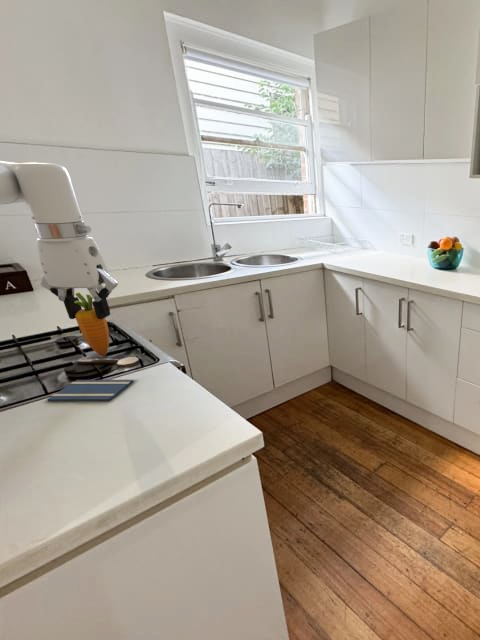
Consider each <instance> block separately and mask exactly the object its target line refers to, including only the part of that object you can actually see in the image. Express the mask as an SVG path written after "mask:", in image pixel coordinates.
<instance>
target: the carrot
mask: <svg viewBox="0 0 480 640" xmlns="http://www.w3.org/2000/svg"><path fill="white" fill-rule="evenodd" d="M75 297H78V299H79V301H75V303H76V304H79V305H80V306H81V308H82V310H80V311H78V312H77V314H76V315H75V320H76V323H77V325H78V328H79V331H80V333H81V335H82V336H83V339H84V341H86V343H87V344H88V346H89V347H90V348H91V349H92V350H93V351H94V352H95V354H97V355H99V356H100V357H103V358H105V356H107V354H108V351H109V347H110V330H109V325H108V322H107V317H105V318H103V319H98V318H97V316H96V313H95V310H94V307H93V304H92V303H93V299H94V298H93V297H92V295H91V294H85V297H84V295H82V294H81V292H76V293H75Z"/></svg>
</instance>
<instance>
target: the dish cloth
mask: <svg viewBox="0 0 480 640" xmlns="http://www.w3.org/2000/svg"><path fill="white" fill-rule="evenodd" d="M133 383H134V380H133V379H75V381H72V382H71V383H69V384H68V385H67V386H65V387H64V388H62V389H61V390H59V391H57V392H56V393H53V394H52V395H51V396H50V397H48V398H47V399H46V400H47V402H110V401H112V400H113V399H114V398H115V397H117V396H118V395H119V394H120V393H121V392H123V391H124V390H126V388H128V387H129V386H130V385H131V384H133Z"/></svg>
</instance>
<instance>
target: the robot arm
mask: <svg viewBox="0 0 480 640" xmlns="http://www.w3.org/2000/svg"><path fill="white" fill-rule="evenodd" d="M71 179H72V178H71V176H70V173H69V172H68V169H66V168H65V166H63V165H61V164H58V163H47V162H20V163H18V162H10V161H3V160H0V205H9V204H10V205H11V204H18V203H25V204H26V207H27V209H28V212H29V216H30V219H31V221H32V224H33V227H34V230H35V233H36V235H37V239H36V246H37V247H36V248H37V254H38V259H39V263H40V267H41V270H42V273H43V277H42V279H41V282H40V286H41V287H42V288H45V289H46V290H48V291H50V292H51V293H52V294H53V295H54V296H56V297H57V299H58V300H59V301H60V302H63V304H64V305H63V306H64V308H65V310H66V313H67V316H68V318H69V319H70V320H76V318H75V315H76V314H77V312H78V311H80V310H82V309H83V307H82V306H80V305H79V304H76V303H75V301H80V299H79V298H78V297H77V296H75V289H87V291H88V292H89V295H90V296H91V297H93V298H92V299H93V300H94V301H93V300H92V308H94V310H95V313H96V316H97V318H98V319H103V318H105V317H106V318H108V317H109V316H111V309H110V306H109V303H108V300H107V299H108V298H109V296H110V294H111V293H112V292H113V290H115V288H117V287H118V286H119V284H118V283H119V282H118V281H116V280H115V279H114V278H113V277H111V274H110V271H109V268H108V266H107V263H106V260H105V258H104V256H103V253H102V252H101V249H100V247H99V245H98V244H97V242H96V240H95V239H94V237H93V236H89V233H91V232H92V228H91V226H89V225H86V223H85V222H84V218H83V215H82V212H81V209H80V205H79V202H78V200H77V196H76V192H75V190H74V189H75V188H74V186H73V183H72V180H71ZM103 284H105V285H103Z"/></svg>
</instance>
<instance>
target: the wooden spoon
mask: <svg viewBox="0 0 480 640" xmlns="http://www.w3.org/2000/svg"><path fill="white" fill-rule="evenodd" d="M77 363H78V364H80V365H117V367H119V368H121V369H122V368H130V367H135V366H136V365H138V364H140V359H139V357H138V356H128V357H124V358H121V359H118V358H79V359H78V360H77Z"/></svg>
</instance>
